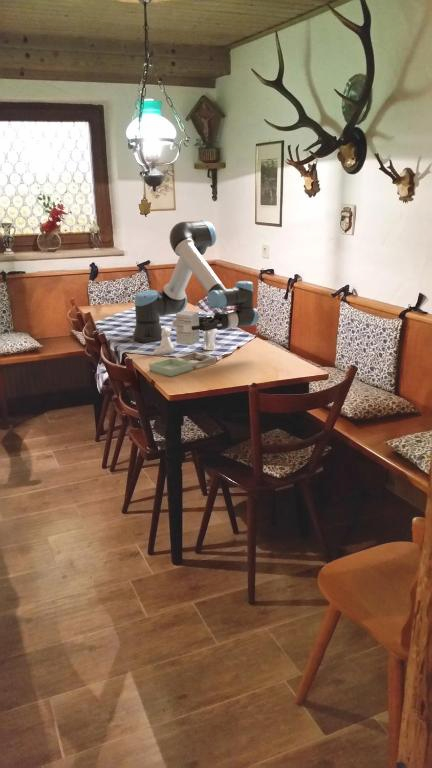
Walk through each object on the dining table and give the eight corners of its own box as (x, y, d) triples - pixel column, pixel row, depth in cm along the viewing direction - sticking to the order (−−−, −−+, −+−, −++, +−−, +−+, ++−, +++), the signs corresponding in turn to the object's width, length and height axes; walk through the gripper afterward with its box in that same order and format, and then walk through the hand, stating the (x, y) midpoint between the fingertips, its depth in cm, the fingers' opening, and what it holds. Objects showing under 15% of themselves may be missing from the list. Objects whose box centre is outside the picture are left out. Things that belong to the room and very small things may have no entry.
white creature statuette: (160, 349, 279) (159, 324, 275) (177, 350, 277) (177, 325, 273) (152, 354, 270) (151, 328, 266) (170, 356, 268) (170, 330, 264)
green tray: (149, 370, 247) (149, 363, 246) (171, 364, 256) (171, 357, 255) (170, 377, 239) (170, 370, 238) (192, 370, 248) (192, 363, 247)
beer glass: (215, 351, 275) (215, 319, 270) (200, 350, 276) (200, 318, 272) (218, 347, 282) (218, 316, 277) (204, 346, 283) (203, 315, 278)
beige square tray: (174, 363, 257) (174, 357, 256) (195, 357, 266) (194, 351, 265) (195, 369, 249) (195, 363, 248) (216, 362, 258) (216, 357, 257)
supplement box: (184, 339, 254) (183, 310, 250) (199, 341, 251) (199, 311, 247) (176, 343, 248) (175, 313, 244) (192, 345, 245) (191, 315, 241)
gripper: (238, 334, 247) (190, 341, 237) (212, 323, 266) (167, 329, 256) (238, 316, 245) (190, 322, 235) (212, 307, 264) (166, 312, 253)
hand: (178, 326), depth 245 cm, fingers closed on supplement box, 10 cm apart
